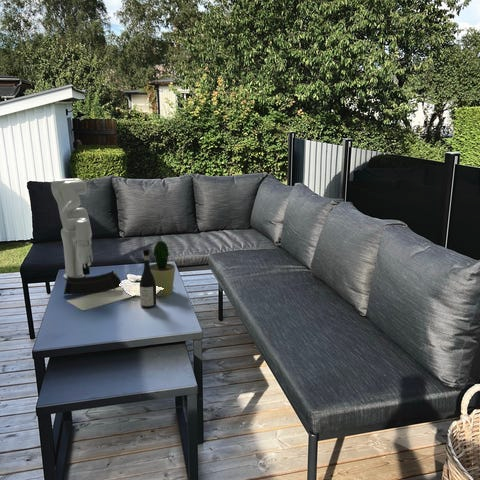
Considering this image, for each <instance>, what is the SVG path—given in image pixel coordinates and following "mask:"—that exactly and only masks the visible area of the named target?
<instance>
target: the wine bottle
mask: <svg viewBox="0 0 480 480" xmlns="http://www.w3.org/2000/svg"><path fill="white" fill-rule="evenodd" d="M142 253H143V264H144V265H143V271H142V275H141V278H140V279H139V280H140V281H139V300H140V301H139V303H140V306H141V307H142V308H144V309H152V308H154V307H156V306H157V296H156V284H155V280H154V277H153V275H152V273H151V270H150V265H151V264H150V249H148V248H145V249H143V250H142Z"/></svg>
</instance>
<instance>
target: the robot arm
mask: <svg viewBox="0 0 480 480" xmlns="http://www.w3.org/2000/svg"><path fill="white" fill-rule="evenodd" d="M50 189H51V193H52V195H53V197H54V199H55V201H56V203H57V207H58V212H59V218H60V221H61V225H62V229H61V230H60V235H61V239H62V240H61V241H62V244H63V255H64V266H65V273H64V274H63V279H65V280H67V276H68V277H75V278H80V277H86V276H88V275H90V273H91V272H90V266H92V263H93V261H94V260H93V259H94V258H93V257H94V256H93V250H92V236H93V232H92V226H91V222H90V217H89V213H88V211H87V208H85V207H80V206H81V203H82V202H81V199H80V196H81V195H82V196H83V195H84V196H85V195H86V194H87V193H88V186H87V184H86V182H85V181H84V180H83V179H81V178H78V177H77V178H58V179H54V180H53V181H52V182H51V183H50Z"/></svg>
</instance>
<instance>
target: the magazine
mask: <svg viewBox="0 0 480 480" xmlns="http://www.w3.org/2000/svg"><path fill="white" fill-rule="evenodd" d="M120 283H121V284H122V281H121V279H120V277H119V275H118V274H117V272H114V270H111V271H110V272H106V273H102V274H98V275H93V276H84V277H80V278H75V277H68V276H67V279H66V282H65V287H64V291H63V295H91V294H95V293H99V292H104V291H108V290H112V289H114V290H115V288H118V287H121V286H119V284H120Z"/></svg>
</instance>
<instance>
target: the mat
mask: <svg viewBox="0 0 480 480" xmlns="http://www.w3.org/2000/svg"><path fill="white" fill-rule="evenodd" d="M120 287H121V286H120ZM120 287H118V288H115V290H114V289H112V290H108V291H104V292H99V293H92V294H86V295H83V296H80V297H75V298H72V299H68V300H66V302H67V303H68V304H70V305H72V306H74V307H75V308H77V309H79V310H80V311H83V312H84V311H88V310H91V309H95V308H98V307H101V306H105V305H108V304H112V303H116V302H118V301H124V300H126V299H130V298H133V296H130V295H128V294H126V293H125V292H124V291H123V289H122V288H120Z"/></svg>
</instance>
